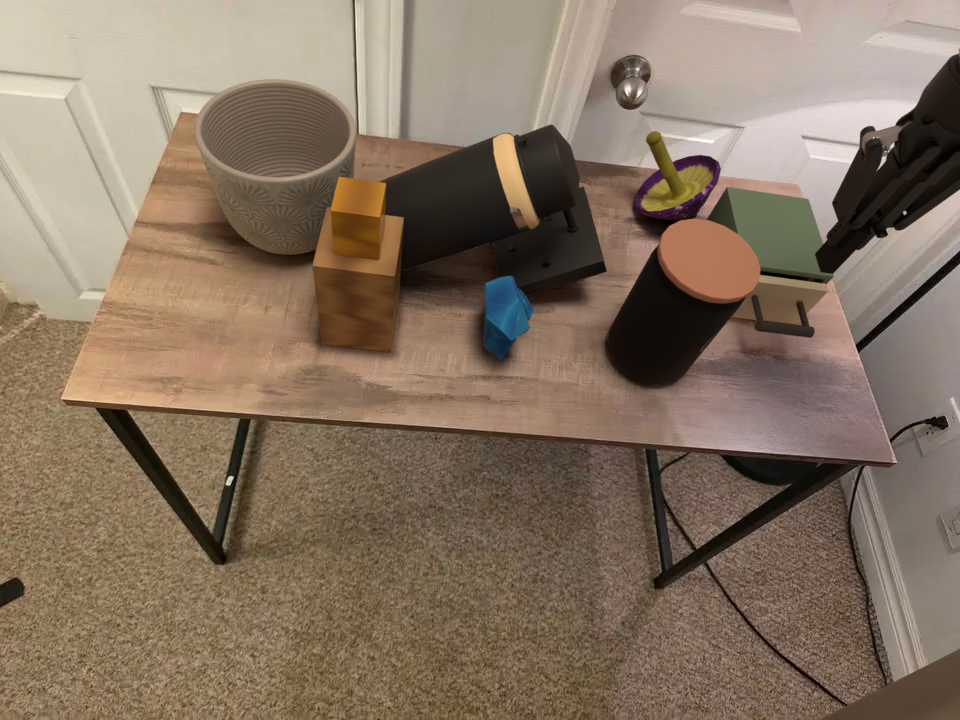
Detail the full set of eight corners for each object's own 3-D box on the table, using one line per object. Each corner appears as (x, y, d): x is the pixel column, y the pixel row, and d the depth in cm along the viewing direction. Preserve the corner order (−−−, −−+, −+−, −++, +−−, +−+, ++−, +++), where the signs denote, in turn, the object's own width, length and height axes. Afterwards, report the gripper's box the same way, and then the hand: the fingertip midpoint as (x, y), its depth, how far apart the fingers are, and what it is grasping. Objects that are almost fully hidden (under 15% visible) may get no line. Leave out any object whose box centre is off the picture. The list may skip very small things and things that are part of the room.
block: (385, 227, 65) (386, 182, 60) (379, 260, 63) (380, 217, 58) (341, 221, 65) (338, 176, 60) (333, 254, 62) (330, 210, 57)
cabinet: (793, 319, 86) (834, 276, 78) (711, 308, 85) (745, 264, 77) (772, 244, 93) (808, 198, 85) (697, 233, 92) (726, 186, 84)
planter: (236, 173, 85) (212, 69, 72) (364, 185, 87) (362, 87, 75) (209, 270, 76) (176, 171, 63) (352, 281, 78) (348, 188, 66)
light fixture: (346, 165, 76) (553, 85, 69) (411, 257, 90) (588, 197, 83) (343, 244, 69) (573, 163, 62) (413, 331, 82) (607, 271, 76)
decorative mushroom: (696, 137, 77) (736, 230, 85) (698, 89, 85) (734, 178, 93) (603, 176, 84) (648, 258, 92) (612, 128, 92) (653, 208, 100)
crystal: (543, 266, 76) (562, 334, 68) (512, 318, 82) (525, 386, 73) (487, 249, 74) (499, 316, 65) (458, 303, 79) (466, 372, 71)
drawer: (804, 358, 81) (839, 325, 75) (727, 348, 80) (756, 315, 74) (776, 254, 91) (805, 217, 85) (706, 244, 90) (731, 207, 84)
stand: (399, 298, 78) (404, 217, 66) (391, 352, 74) (395, 276, 62) (333, 290, 77) (326, 206, 66) (321, 344, 73) (312, 265, 61)
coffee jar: (687, 398, 76) (765, 309, 61) (601, 378, 76) (658, 284, 61) (686, 327, 82) (757, 231, 67) (607, 309, 82) (660, 208, 67)
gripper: (1050, 59, 54) (868, 246, 74) (909, 34, 53) (762, 231, 73) (1091, 116, 50) (887, 297, 70) (939, 91, 49) (775, 282, 69)
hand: (823, 263), depth 71 cm, fingers closed
